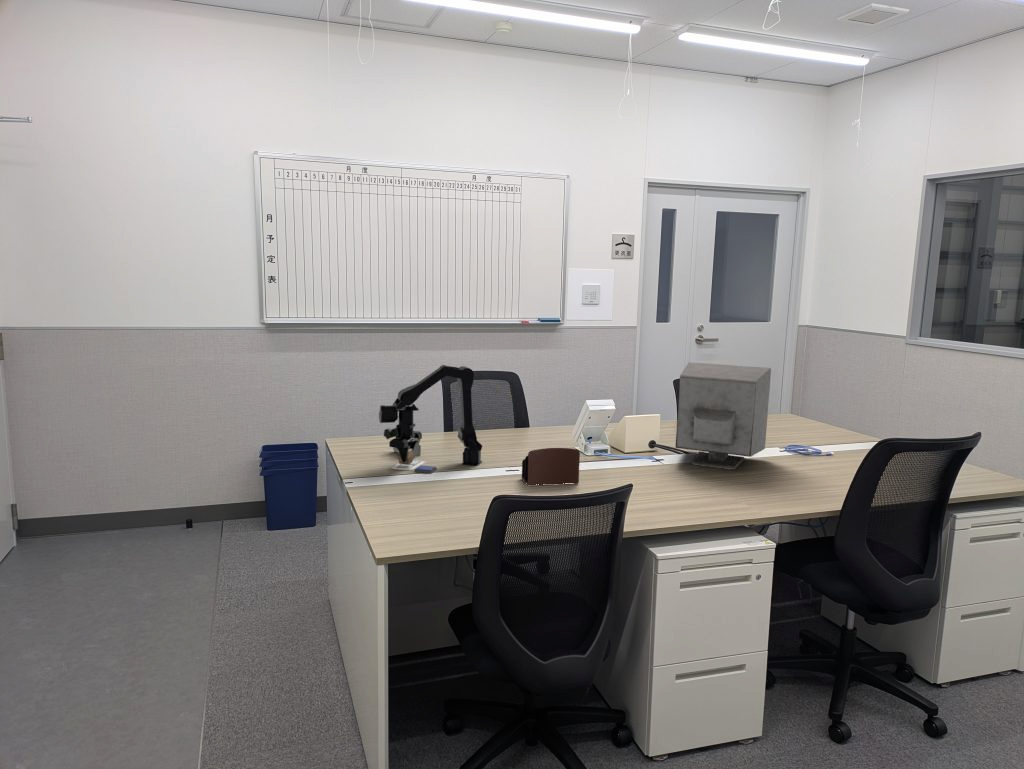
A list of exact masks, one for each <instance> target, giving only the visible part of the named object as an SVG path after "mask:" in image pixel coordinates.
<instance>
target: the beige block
mask: <svg viewBox="0 0 1024 769" xmlns="http://www.w3.org/2000/svg"><path fill="white" fill-rule="evenodd" d="M413 459H414V458H413V449H411V448H409V452H408V455H407V458H406V461H405V462H402V459H401V456H400V453H399V454H398V463H399V464H408V465H409V464H410V463H412V460H413Z"/></svg>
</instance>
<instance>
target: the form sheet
mask: <svg viewBox="0 0 1024 769" xmlns="http://www.w3.org/2000/svg"><path fill="white" fill-rule="evenodd" d="M425 464H426V461H423V460H413V459H412V463H410V464H409V465H408V464H399V462H398V463H396V464H395V465H393V466H392V467H391V469H392V470H397V471H398V470H401V471H409V472H413V471H414V469H416V468H417V467H419V466H420V465H425Z"/></svg>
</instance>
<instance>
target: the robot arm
mask: <svg viewBox="0 0 1024 769" xmlns="http://www.w3.org/2000/svg"><path fill="white" fill-rule="evenodd" d="M445 377H450V378H456V380H457V384H458V387H459V390H460V391H459V392H460V408H461V409H460V412H461V413H460V414H461V425H460V427H457V429H456V430H457V438H458V439H459V442H460V443H462V444H463V446H464V449H463V452H462V465H465V466H466V465H467V466H476V467H477V466H479V465H480V464H481V463H483V461H482V459H481V458H482V449H483V445H482V444H481V442H479V441H478V437H477V433H476V430H475V426H474V424H473V403H472V402H473V401H472V388H473V385H474V379H475V373H474V370H473V369H471V368H469V367H467V366H465V365H462V366H459V367H456V366H451V365H445V364H441V366H439V367H438V368H437V369H435V370H434V371H432V372H431V373H430V374H427V376H425V377H424V378H422V379H421V380H420V381H417V383H415V384H412V385H409V386H407V387H405V388H403V389H402V388H401V390H399V391H398V393H397V397H396V399H395V400H394V401H393V403H392V404H391V405H390V404H389V405H384V404H381V405H379V410H378V411H379V412H378V420H379V423H380V424H383V423H385V424H386V423H387V424H389V423H391V424H392V423H396V422H397V420H398V424H396V426H395V427H394V428H390V427H388V428H385V429H384V431H383V437H384V438H386V440H389V439H391V440H390V441H389V445H388V446H389V448H393V447H395V448H397V449H398V450H399V453H400V456H401V459H402V462H405V461H406V458H407V455H408V452H409V448H411V449H413V451H414V448H415V446H416V444H417V443H418V441H415V439H414V438H418V440H420V441H421V439H422V438H423V434H422V432H421V431H420V430H419V431H417V430H414V427H416V423H414V411H415V412H417V411H418V412H419V408H418V407H417V406H416V405H415V404H414V403H415V402H416V401H417V400H418V399H419V398H420V396H421V395H422V394H423V393H424V392H426V391H427V390H428V389H431V387H433V386H434V385H436V384H438V382H439V381H441V380H443V379H444V378H445ZM392 438H393V439H392Z"/></svg>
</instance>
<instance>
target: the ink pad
mask: <svg viewBox="0 0 1024 769" xmlns="http://www.w3.org/2000/svg"><path fill="white" fill-rule="evenodd" d="M437 470H438V468H437V467H436V466H434V465H432V466H431V465H425V464H423V465H420V466H419V467H417V468H416V469H414V473H420V474H421V473H423V474H430V475H431V474H433V473H434V472H436V471H437Z"/></svg>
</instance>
